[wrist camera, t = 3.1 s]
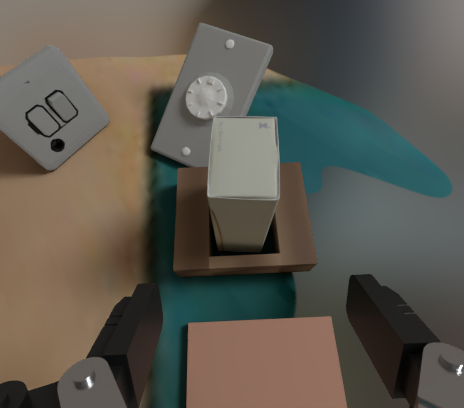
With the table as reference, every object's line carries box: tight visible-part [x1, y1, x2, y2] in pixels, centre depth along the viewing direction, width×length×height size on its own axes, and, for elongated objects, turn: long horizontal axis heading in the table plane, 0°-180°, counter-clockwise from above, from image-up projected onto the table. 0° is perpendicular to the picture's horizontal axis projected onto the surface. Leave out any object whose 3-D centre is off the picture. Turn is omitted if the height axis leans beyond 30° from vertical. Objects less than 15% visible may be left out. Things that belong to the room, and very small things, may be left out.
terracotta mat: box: [186, 316, 347, 408], centre depth 21 cm, size 12×12×1 cm
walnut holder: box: [173, 162, 317, 277], centre depth 27 cm, size 12×10×3 cm
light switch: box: [151, 23, 273, 167], centre depth 32 cm, size 8×6×14 cm
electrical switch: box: [0, 45, 109, 171], centre depth 30 cm, size 9×5×9 cm, turn 143°
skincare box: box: [207, 116, 280, 253], centre depth 23 cm, size 6×4×12 cm
